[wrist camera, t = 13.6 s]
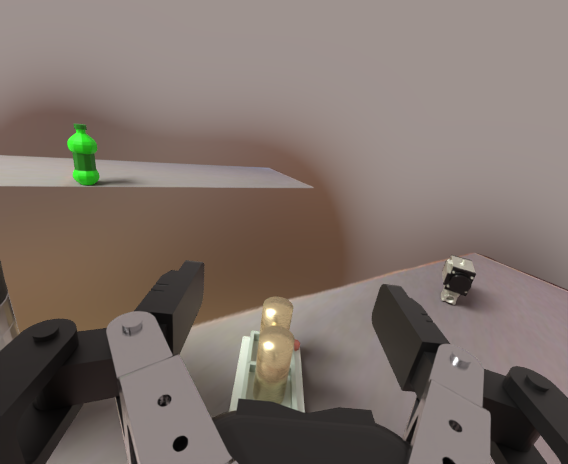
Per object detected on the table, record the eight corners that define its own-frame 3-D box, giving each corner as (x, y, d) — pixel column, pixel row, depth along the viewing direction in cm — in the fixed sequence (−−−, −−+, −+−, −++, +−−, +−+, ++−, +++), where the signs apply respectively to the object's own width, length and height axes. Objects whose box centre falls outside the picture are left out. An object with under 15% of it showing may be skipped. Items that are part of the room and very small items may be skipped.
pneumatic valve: (455, 293, 76) (472, 254, 72) (459, 315, 66) (478, 272, 62) (434, 286, 78) (449, 248, 74) (434, 306, 68) (451, 263, 64)
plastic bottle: (69, 181, 122) (60, 121, 113) (96, 180, 130) (89, 124, 121) (77, 187, 116) (68, 124, 107) (105, 185, 124) (99, 127, 115)
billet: (250, 406, 36) (257, 350, 33) (254, 377, 41) (260, 324, 37) (284, 410, 37) (295, 354, 33) (284, 380, 41) (294, 327, 37)
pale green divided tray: (227, 423, 36) (229, 407, 34) (242, 343, 49) (243, 329, 47) (303, 429, 36) (307, 414, 35) (298, 348, 49) (300, 335, 48)
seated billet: (255, 366, 43) (262, 313, 39) (257, 344, 47) (264, 295, 43) (284, 368, 43) (293, 317, 39) (284, 347, 47) (292, 298, 43)
